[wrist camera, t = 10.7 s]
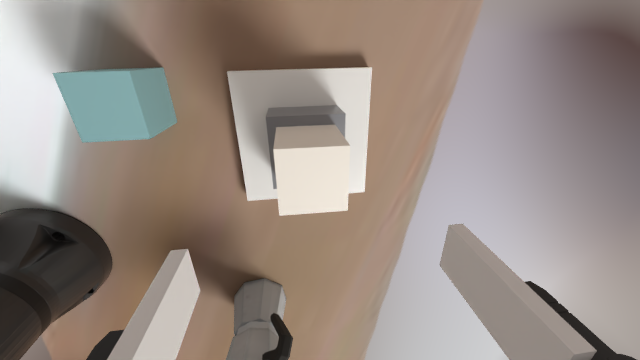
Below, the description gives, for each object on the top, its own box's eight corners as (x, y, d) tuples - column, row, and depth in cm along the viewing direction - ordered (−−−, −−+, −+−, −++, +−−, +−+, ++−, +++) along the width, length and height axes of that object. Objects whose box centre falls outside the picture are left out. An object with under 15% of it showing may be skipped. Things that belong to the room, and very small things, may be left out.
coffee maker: (264, 327, 48) (254, 463, 32) (219, 312, 45) (183, 454, 29) (310, 273, 44) (324, 399, 28) (264, 253, 41) (250, 381, 25)
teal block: (124, 124, 31) (82, 142, 24) (104, 69, 28) (52, 73, 22) (177, 122, 31) (150, 138, 25) (163, 67, 29) (129, 70, 22)
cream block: (280, 180, 29) (279, 215, 23) (276, 127, 26) (273, 149, 20) (334, 177, 30) (347, 210, 23) (335, 124, 27) (350, 145, 21)
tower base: (249, 195, 36) (242, 222, 31) (229, 70, 30) (215, 74, 24) (361, 187, 38) (375, 211, 32) (368, 66, 31) (387, 69, 25)
